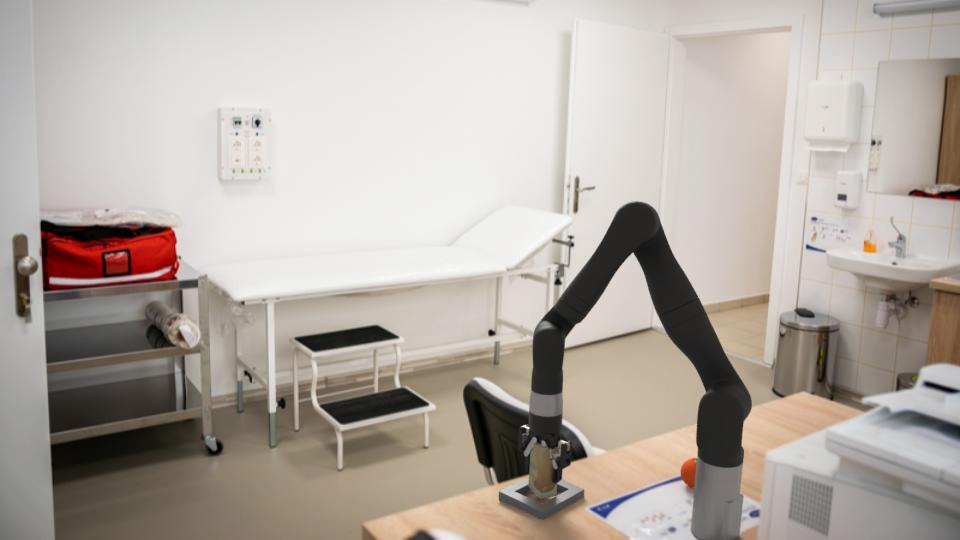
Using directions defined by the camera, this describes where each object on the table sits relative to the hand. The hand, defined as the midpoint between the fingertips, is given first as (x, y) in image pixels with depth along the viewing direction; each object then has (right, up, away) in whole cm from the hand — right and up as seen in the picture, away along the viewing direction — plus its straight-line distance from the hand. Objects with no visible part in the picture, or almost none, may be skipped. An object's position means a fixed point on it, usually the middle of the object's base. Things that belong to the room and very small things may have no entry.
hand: (542, 476), depth 181 cm
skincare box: (0, -4, +1) cm, 4 cm away
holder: (0, -5, +1) cm, 5 cm away
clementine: (+37, -5, +8) cm, 38 cm away
